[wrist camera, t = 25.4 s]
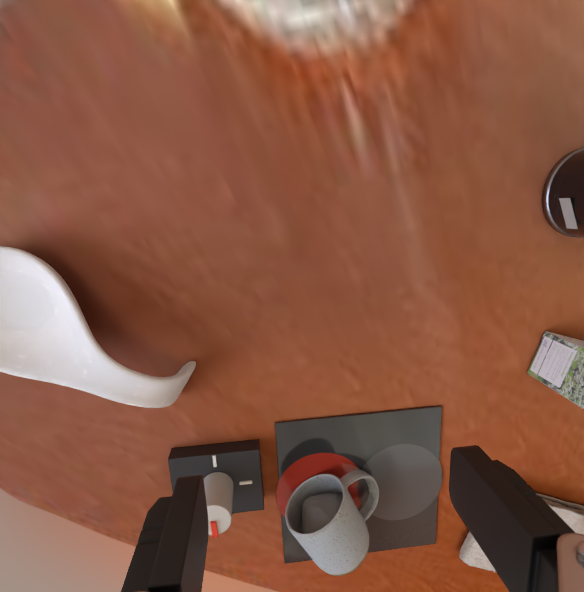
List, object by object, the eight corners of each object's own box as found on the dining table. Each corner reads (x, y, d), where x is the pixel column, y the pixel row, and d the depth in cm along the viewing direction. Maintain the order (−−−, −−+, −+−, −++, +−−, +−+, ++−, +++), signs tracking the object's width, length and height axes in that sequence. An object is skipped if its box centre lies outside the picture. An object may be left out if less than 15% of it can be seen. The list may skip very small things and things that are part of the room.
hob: (444, 405, 47) (445, 406, 47) (438, 541, 52) (439, 543, 51) (270, 422, 45) (270, 424, 45) (280, 562, 50) (280, 564, 50)
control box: (258, 439, 45) (259, 450, 43) (263, 497, 47) (264, 510, 45) (171, 448, 45) (167, 460, 43) (179, 507, 47) (176, 521, 44)
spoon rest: (-54, 324, 39) (-120, 350, 32) (-9, 220, 37) (-69, 223, 30) (165, 419, 44) (149, 459, 37) (214, 331, 42) (207, 356, 35)
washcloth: (561, 576, 55) (579, 597, 52) (451, 552, 52) (463, 573, 49) (601, 507, 53) (622, 525, 50) (489, 478, 50) (504, 495, 47)
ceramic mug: (313, 539, 49) (325, 598, 42) (280, 493, 47) (287, 547, 40) (386, 496, 49) (411, 549, 42) (356, 449, 47) (377, 495, 39)
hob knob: (198, 474, 43) (191, 510, 38) (231, 469, 44) (228, 504, 39) (203, 501, 44) (197, 540, 39) (235, 496, 45) (233, 534, 39)
